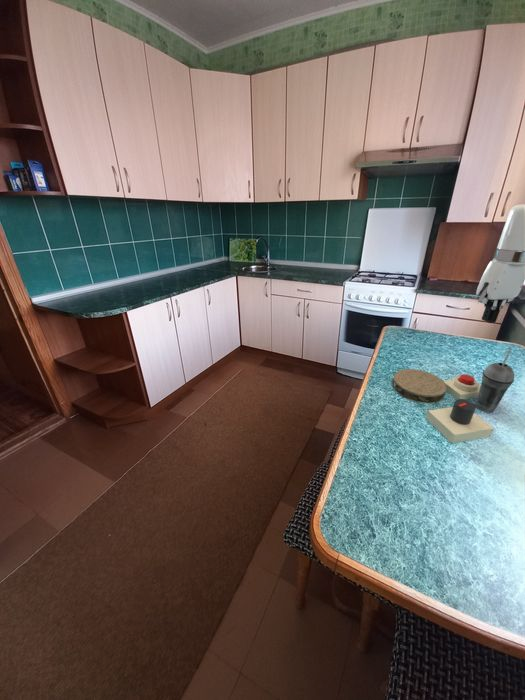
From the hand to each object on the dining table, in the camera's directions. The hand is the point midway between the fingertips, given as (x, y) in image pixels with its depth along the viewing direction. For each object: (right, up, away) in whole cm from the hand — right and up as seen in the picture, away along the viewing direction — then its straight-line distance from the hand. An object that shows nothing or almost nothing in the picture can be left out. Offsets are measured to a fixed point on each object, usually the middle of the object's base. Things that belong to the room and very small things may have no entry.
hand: (488, 321), depth 85 cm
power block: (0, -22, +12) cm, 25 cm away
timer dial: (-12, -28, -5) cm, 30 cm away
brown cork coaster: (-14, -22, +13) cm, 29 cm away
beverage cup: (+2, -27, +4) cm, 27 cm away
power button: (0, -19, +10) cm, 21 cm away
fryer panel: (-12, -30, -4) cm, 33 cm away
